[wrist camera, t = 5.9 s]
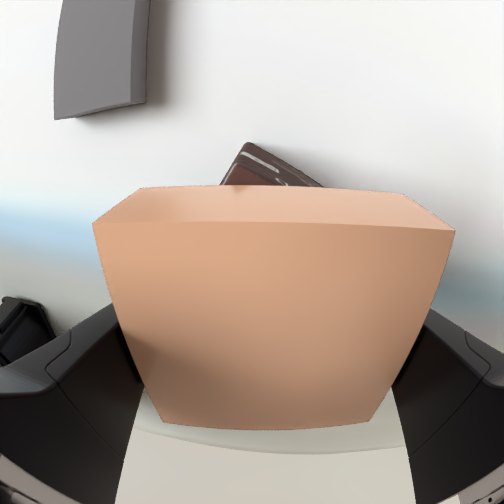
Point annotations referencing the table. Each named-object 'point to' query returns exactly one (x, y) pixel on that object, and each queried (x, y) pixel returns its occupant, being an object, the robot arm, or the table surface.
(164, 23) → the table surface
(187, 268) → the tile
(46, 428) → the robot arm
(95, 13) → the block
